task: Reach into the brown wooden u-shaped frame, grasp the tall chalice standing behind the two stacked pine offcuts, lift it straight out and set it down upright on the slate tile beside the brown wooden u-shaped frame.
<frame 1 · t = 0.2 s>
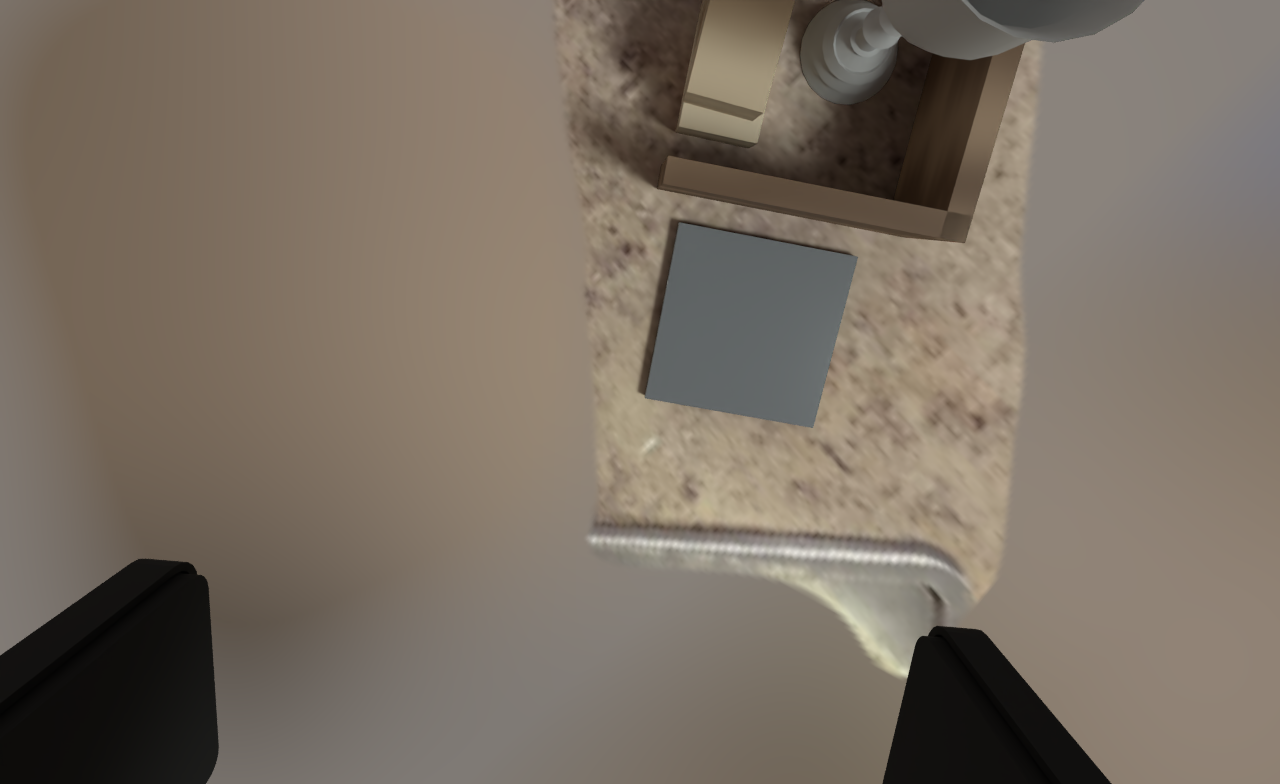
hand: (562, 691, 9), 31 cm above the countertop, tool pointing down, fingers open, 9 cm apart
brown wooden u-shaped frame: (821, 46, 35), on the countertop
offcut upper: (743, 13, 33), point 3 cm above the countertop, touching offcut lower
offcut lower: (735, 30, 35), on the countertop, touching offcut upper
slate tile: (747, 327, 39), on the countertop
chalice: (847, 53, 36), on the countertop
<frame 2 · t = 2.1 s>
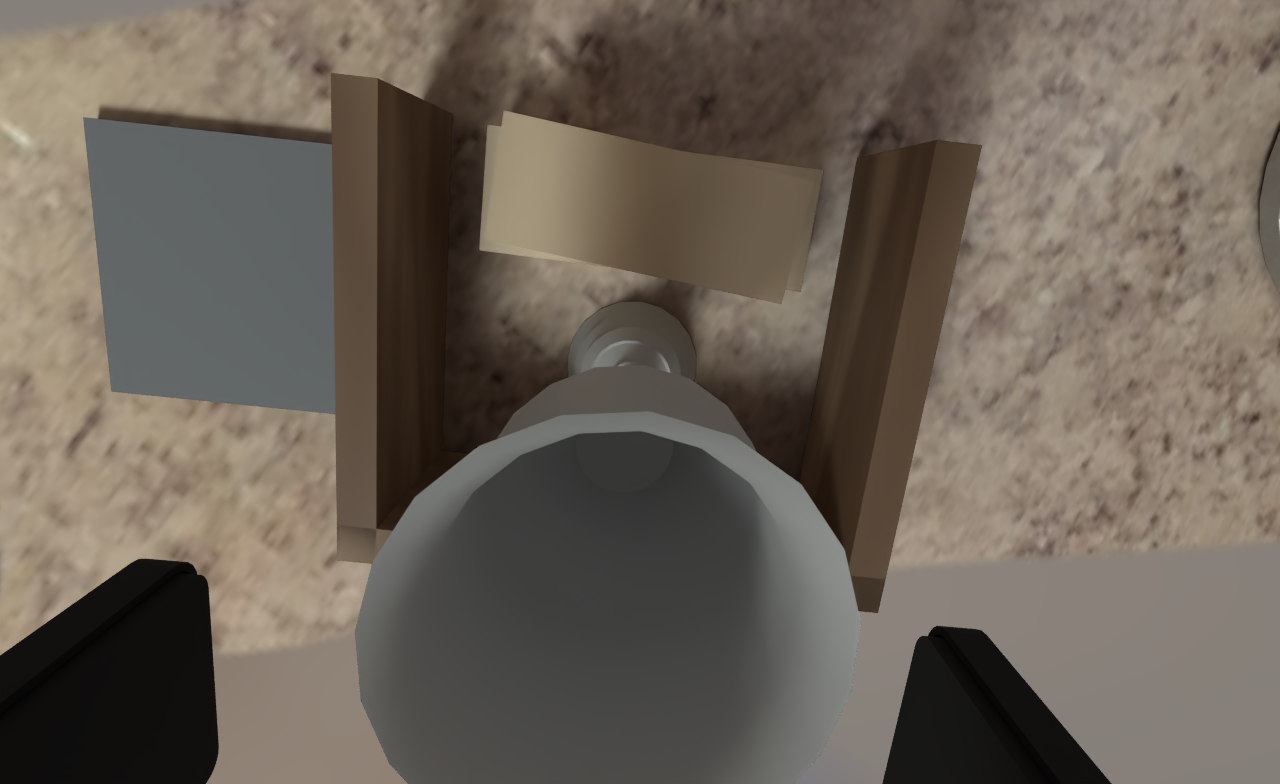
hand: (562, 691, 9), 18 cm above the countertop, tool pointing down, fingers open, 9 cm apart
brown wooden u-shaped frame: (635, 328, 26), on the countertop
offcut upper: (646, 210, 23), point 3 cm above the countertop, touching offcut lower
offcut lower: (648, 210, 26), on the countertop, touching offcut upper
slate tile: (243, 274, 26), on the countertop
chalice: (631, 364, 27), on the countertop
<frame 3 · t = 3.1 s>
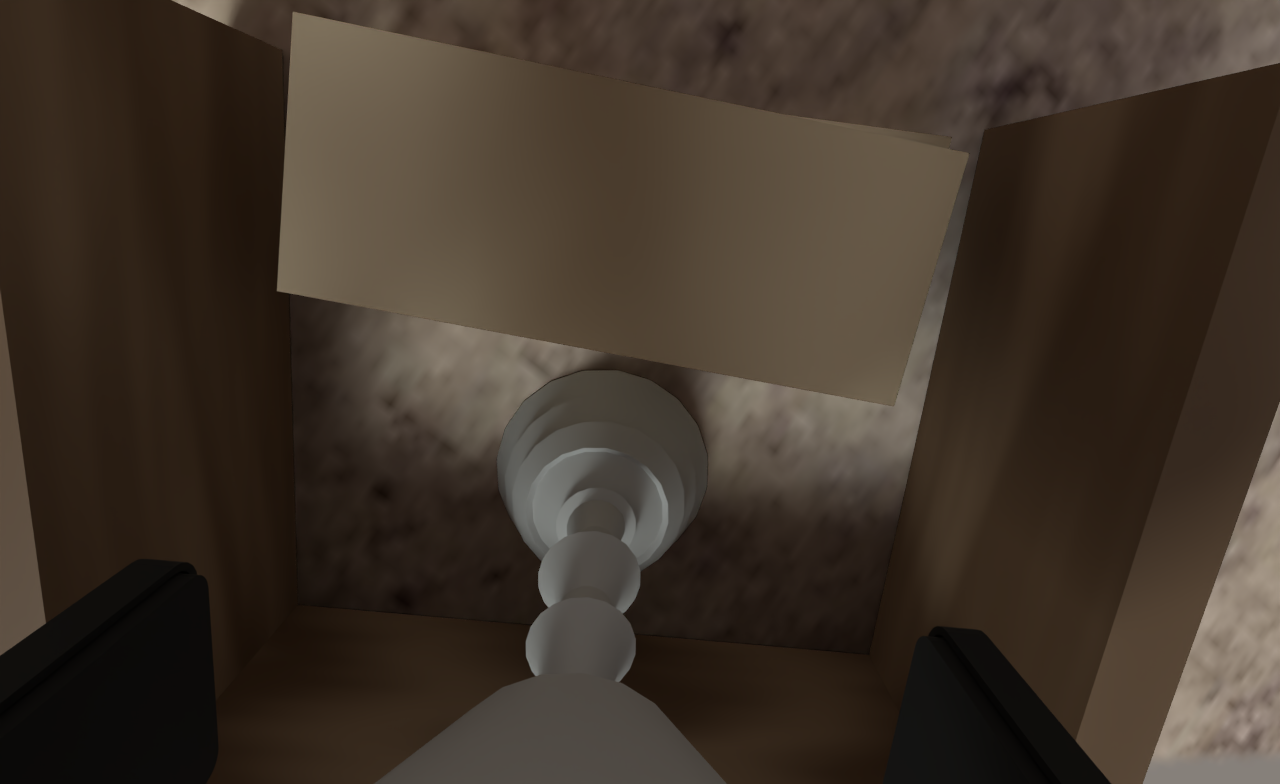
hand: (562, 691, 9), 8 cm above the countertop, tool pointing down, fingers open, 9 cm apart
brown wooden u-shaped frame: (608, 413, 16), on the countertop
offcut upper: (620, 220, 12), point 3 cm above the countertop, touching offcut lower
offcut lower: (627, 213, 15), on the countertop, touching offcut upper
chalice: (602, 469, 17), on the countertop
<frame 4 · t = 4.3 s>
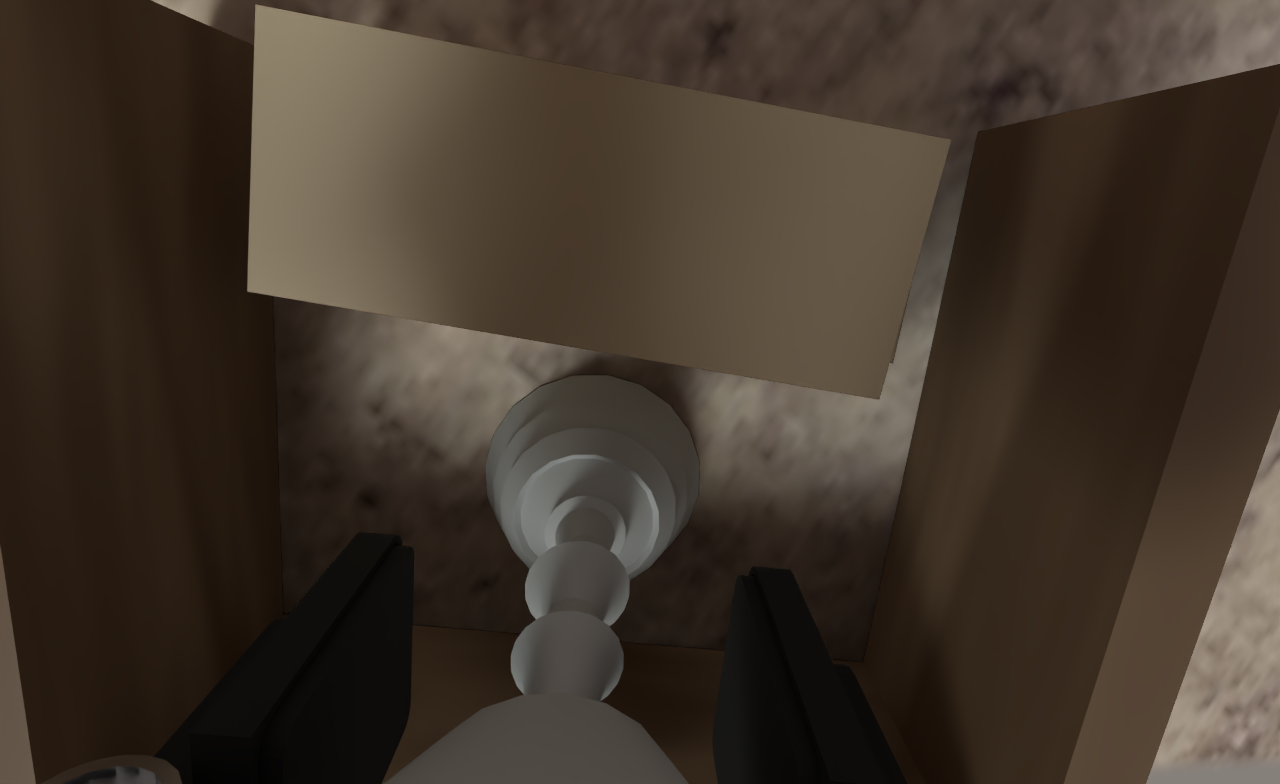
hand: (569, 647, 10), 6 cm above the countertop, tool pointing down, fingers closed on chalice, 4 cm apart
brown wooden u-shaped frame: (598, 419, 16), on the countertop
offcut upper: (601, 214, 12), point 3 cm above the countertop, touching offcut lower
chalice: (593, 476, 16), on the countertop, touching gripper
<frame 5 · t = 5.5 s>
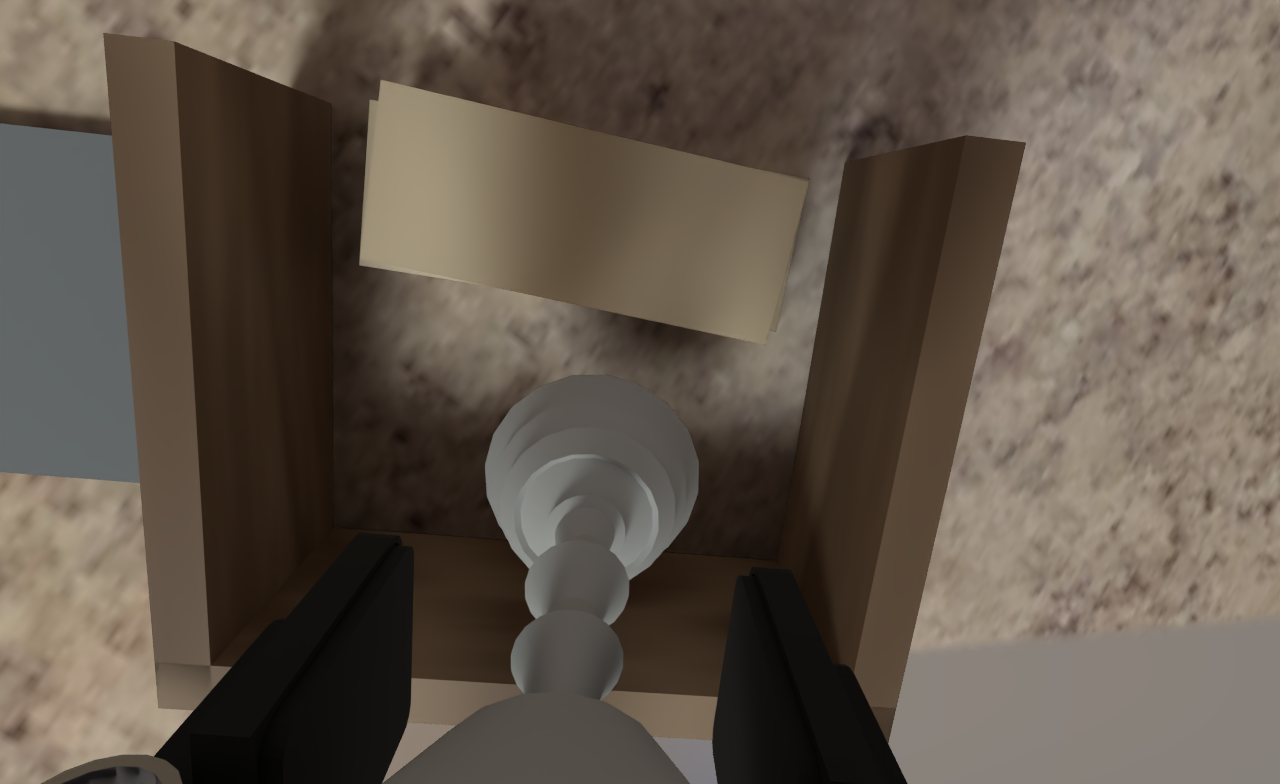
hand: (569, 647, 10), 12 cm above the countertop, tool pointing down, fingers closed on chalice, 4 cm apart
brown wooden u-shaped frame: (574, 373, 21), on the countertop
offcut upper: (588, 218, 17), point 3 cm above the countertop
offcut lower: (587, 220, 20), on the countertop
slate tile: (62, 309, 20), on the countertop
chalice: (592, 475, 16), point 5 cm above the countertop, touching gripper
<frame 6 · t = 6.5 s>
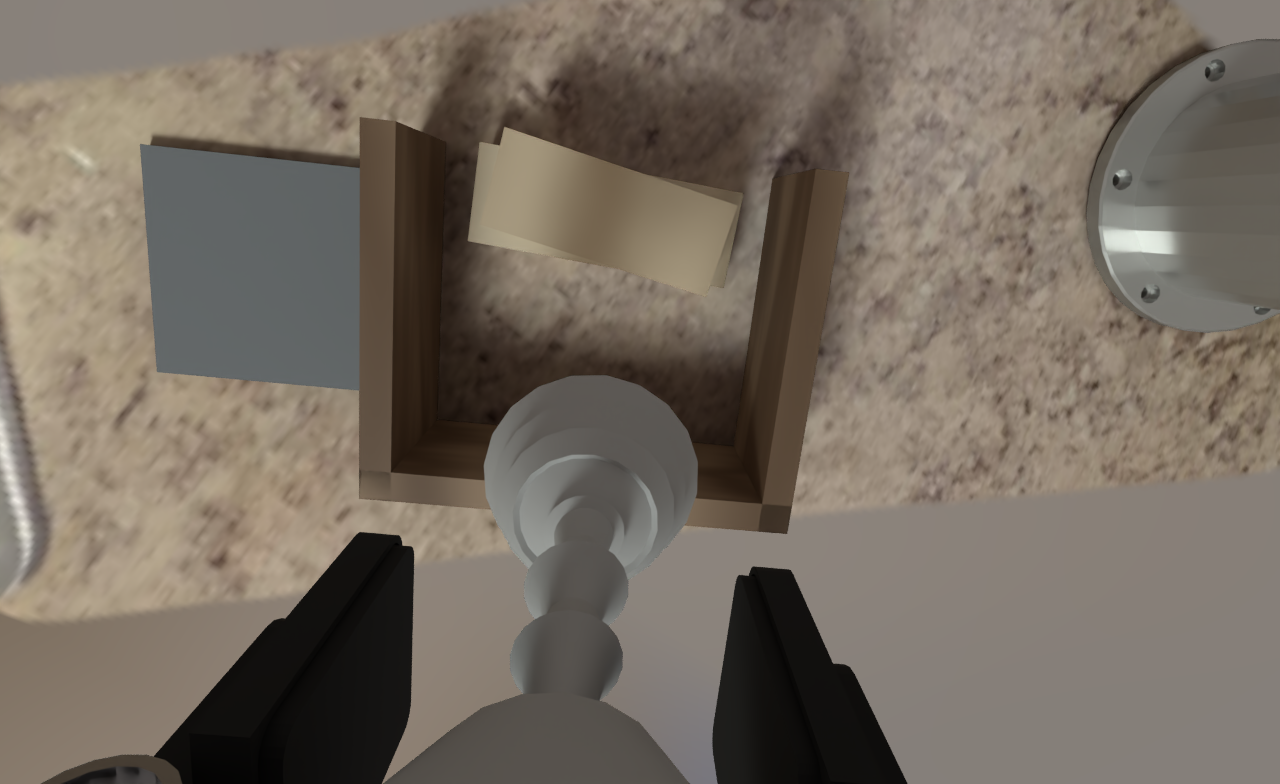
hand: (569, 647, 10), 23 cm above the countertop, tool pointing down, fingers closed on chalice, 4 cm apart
brown wooden u-shaped frame: (597, 316, 32), on the countertop
offcut upper: (610, 214, 29), point 3 cm above the countertop, touching offcut lower
offcut lower: (606, 217, 31), on the countertop, touching offcut upper
slate tile: (270, 273, 31), on the countertop
chalice: (591, 476, 16), point 17 cm above the countertop, touching gripper
when the fingers open (8 cm above the countertop, at t = 12.6 s): chalice drops 1 cm, on the countertop.
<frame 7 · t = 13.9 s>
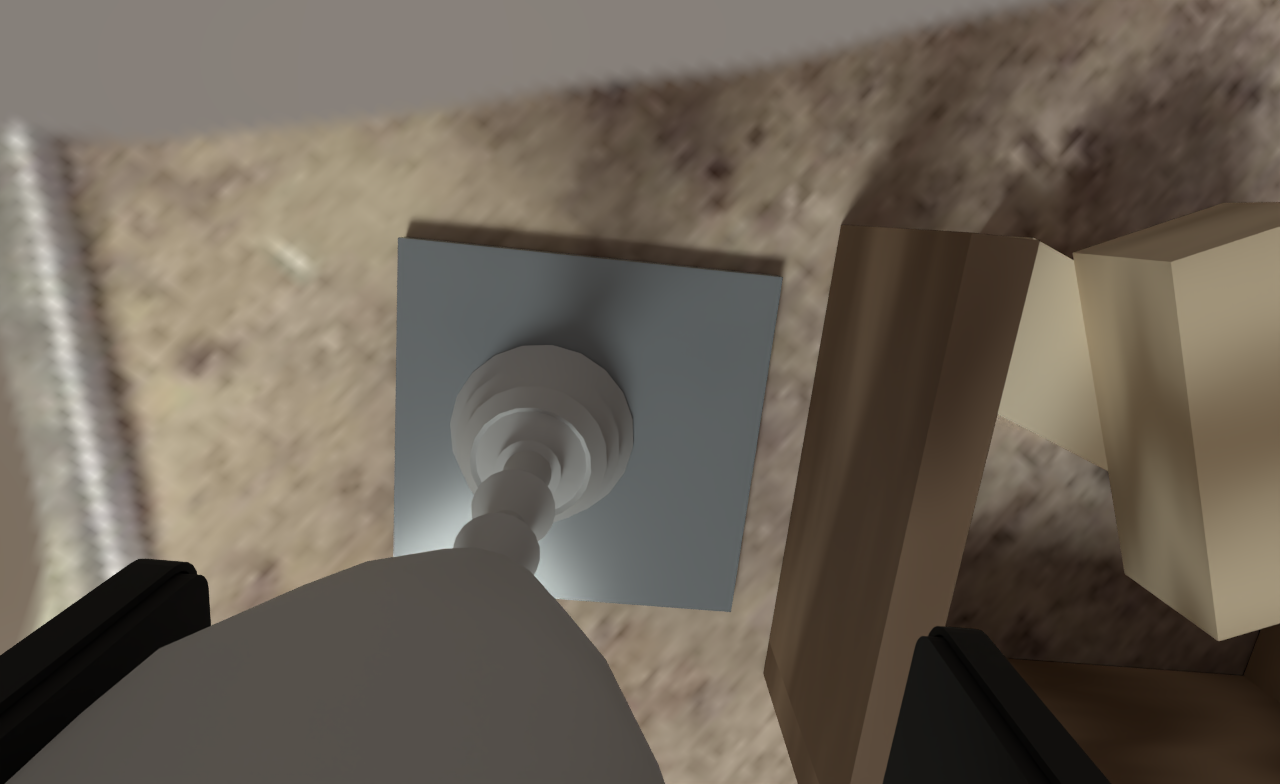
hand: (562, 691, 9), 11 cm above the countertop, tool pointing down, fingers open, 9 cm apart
brown wooden u-shaped frame: (1076, 493, 21), on the countertop
offcut upper: (1170, 401, 17), point 2 cm above the countertop, touching offcut lower
offcut lower: (1086, 381, 20), on the countertop, touching offcut upper
slate tile: (579, 433, 20), on the countertop
chalice: (543, 432, 19), resting on slate tile, touching gripper
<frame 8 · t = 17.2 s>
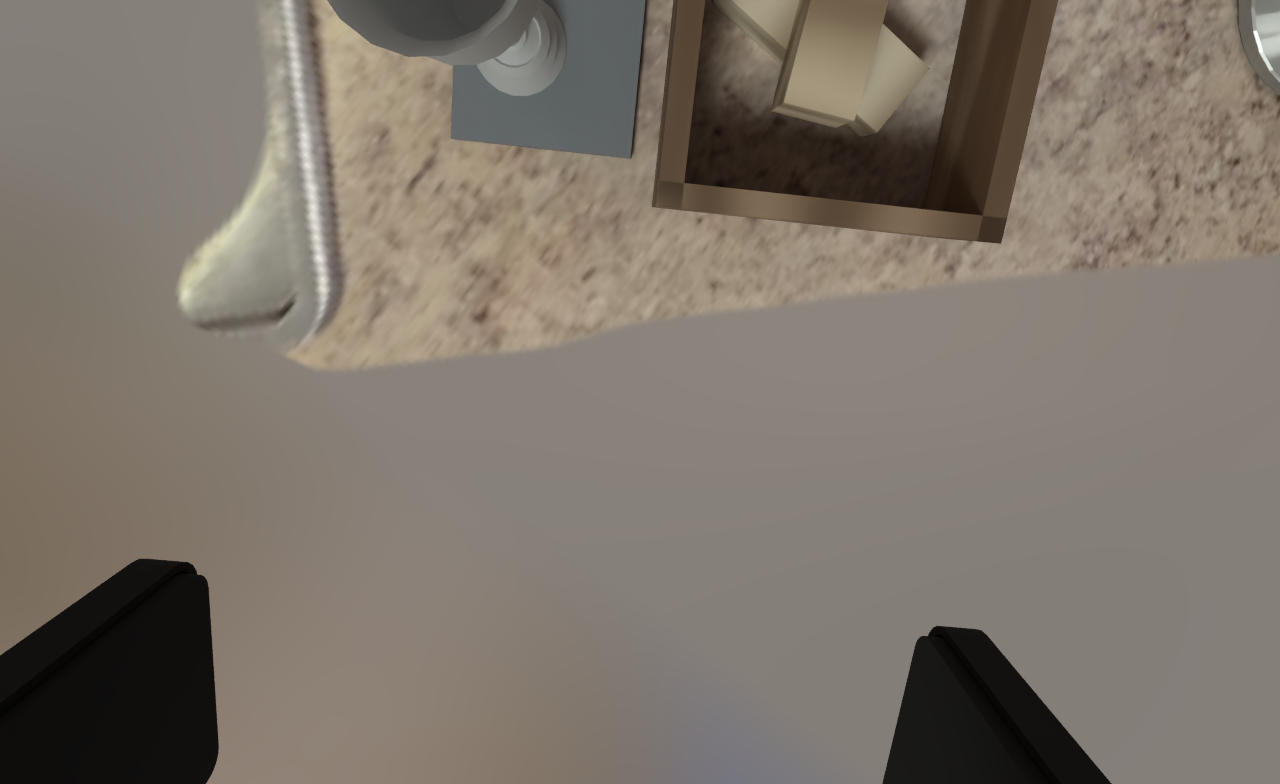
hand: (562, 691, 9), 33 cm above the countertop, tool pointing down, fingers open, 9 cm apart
brown wooden u-shaped frame: (816, 94, 38), on the countertop
offcut upper: (828, 27, 35), point 3 cm above the countertop
offcut lower: (810, 42, 38), on the countertop
slate tile: (548, 52, 37), on the countertop
chalice: (519, 45, 37), resting on slate tile
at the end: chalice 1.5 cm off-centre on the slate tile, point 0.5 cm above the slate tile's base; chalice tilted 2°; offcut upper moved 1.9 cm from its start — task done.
